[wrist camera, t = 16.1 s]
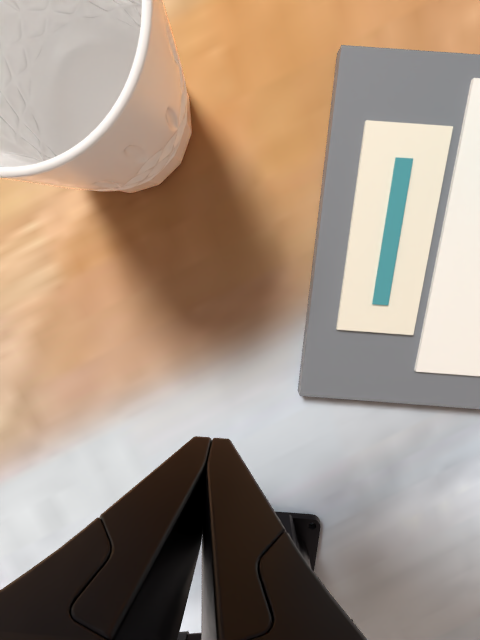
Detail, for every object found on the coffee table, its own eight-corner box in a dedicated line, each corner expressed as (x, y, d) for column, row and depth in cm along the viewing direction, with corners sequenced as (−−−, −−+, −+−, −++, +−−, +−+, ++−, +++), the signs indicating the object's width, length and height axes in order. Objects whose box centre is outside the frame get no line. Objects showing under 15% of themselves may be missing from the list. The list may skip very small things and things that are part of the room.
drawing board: (575, 410, 21) (592, 419, 20) (297, 389, 21) (300, 398, 20) (681, 77, 17) (710, 67, 16) (337, 53, 17) (343, 42, 16)
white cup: (175, 4, 17) (74, -312, 7) (223, 180, 18) (195, 123, 9) (19, 59, 17) (-272, -159, 8) (79, 223, 19) (-95, 215, 9)
